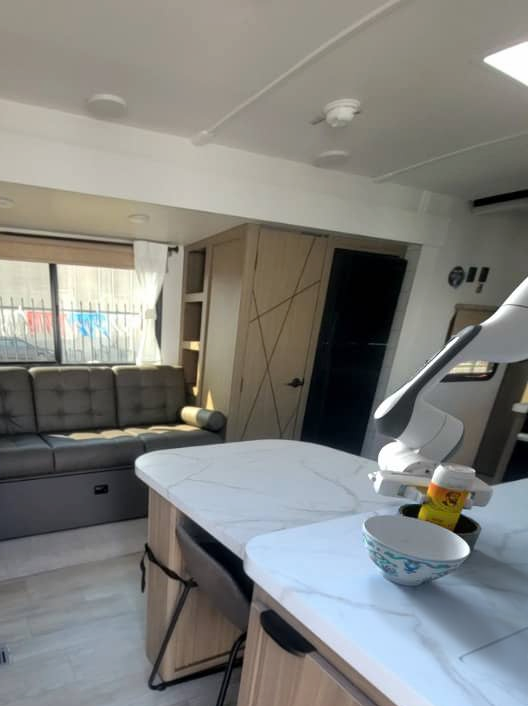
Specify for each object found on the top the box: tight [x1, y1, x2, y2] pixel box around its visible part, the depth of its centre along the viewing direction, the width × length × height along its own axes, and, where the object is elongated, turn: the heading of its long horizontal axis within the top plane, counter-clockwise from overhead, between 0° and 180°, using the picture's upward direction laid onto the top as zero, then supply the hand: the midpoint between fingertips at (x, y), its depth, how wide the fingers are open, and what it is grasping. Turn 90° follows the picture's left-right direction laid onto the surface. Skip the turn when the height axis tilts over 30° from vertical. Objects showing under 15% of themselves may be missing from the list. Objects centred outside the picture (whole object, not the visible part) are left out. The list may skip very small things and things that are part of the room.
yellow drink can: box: [417, 462, 477, 532], centre depth 77 cm, size 6×6×15 cm
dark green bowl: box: [395, 503, 483, 560], centre depth 79 cm, size 13×13×6 cm
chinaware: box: [362, 514, 470, 587], centre depth 68 cm, size 15×15×8 cm
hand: (446, 503), depth 75 cm, fingers closed on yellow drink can, 6 cm apart
